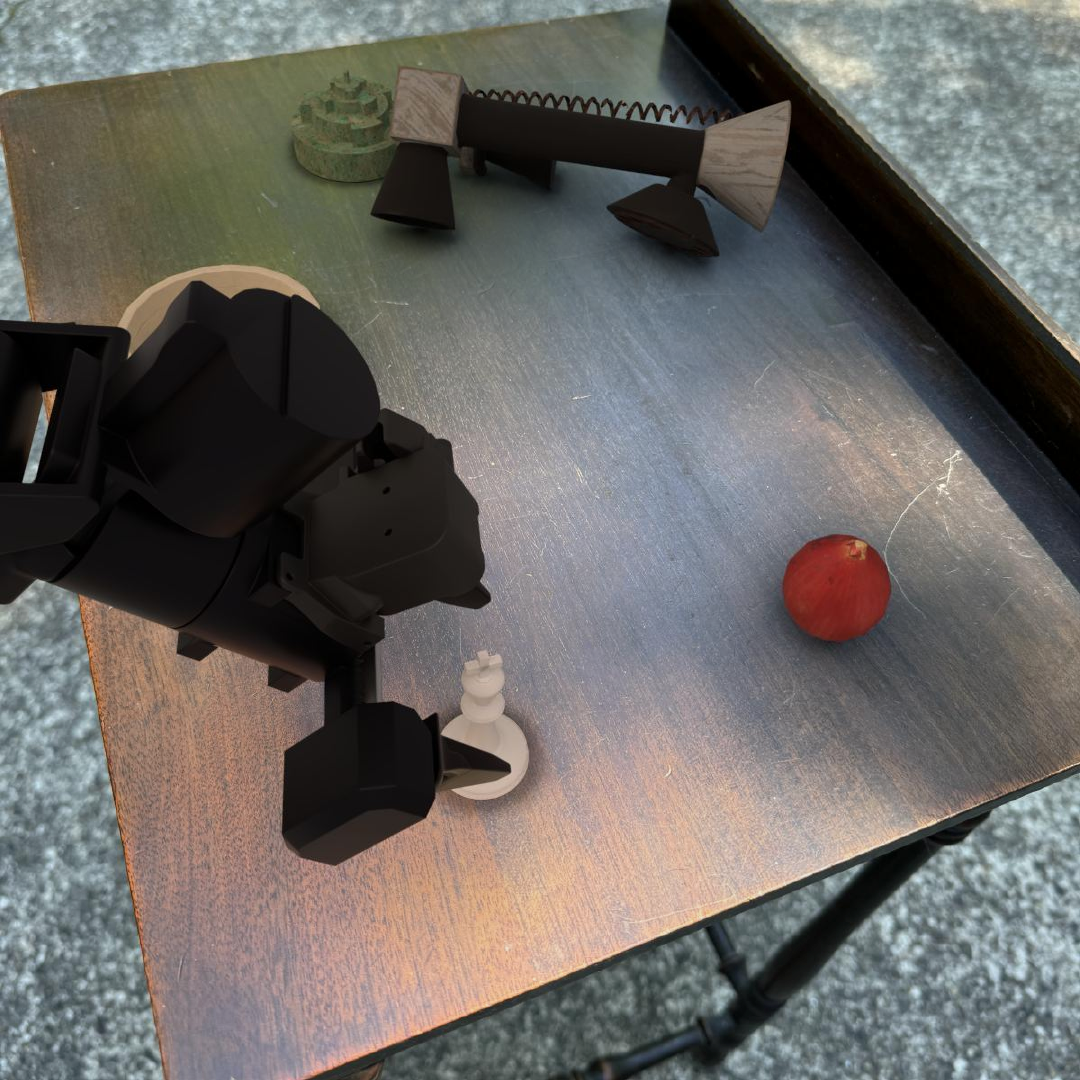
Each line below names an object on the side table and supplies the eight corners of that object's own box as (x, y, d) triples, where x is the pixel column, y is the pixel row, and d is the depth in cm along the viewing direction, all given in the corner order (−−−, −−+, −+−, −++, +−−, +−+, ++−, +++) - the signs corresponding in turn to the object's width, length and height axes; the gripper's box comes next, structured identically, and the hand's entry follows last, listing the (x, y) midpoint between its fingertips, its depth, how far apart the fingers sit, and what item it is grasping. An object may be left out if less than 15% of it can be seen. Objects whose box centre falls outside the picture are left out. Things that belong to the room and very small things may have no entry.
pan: (130, 447, 66) (115, 407, 63) (130, 315, 74) (116, 275, 71) (338, 419, 68) (332, 380, 66) (316, 294, 76) (310, 255, 73)
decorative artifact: (320, 112, 92) (277, 170, 86) (311, 33, 87) (263, 90, 81) (426, 131, 91) (389, 191, 85) (423, 53, 86) (384, 111, 80)
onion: (751, 599, 61) (783, 513, 54) (834, 574, 62) (874, 488, 56) (800, 679, 57) (840, 597, 51) (886, 651, 59) (935, 568, 53)
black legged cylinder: (736, 285, 88) (397, 232, 89) (764, 133, 86) (417, 81, 87) (763, 269, 73) (356, 206, 74) (798, 84, 71) (378, 22, 72)
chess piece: (425, 727, 54) (417, 622, 46) (513, 705, 55) (520, 599, 48) (447, 811, 51) (443, 715, 44) (540, 786, 53) (552, 687, 45)
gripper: (341, 682, 28) (671, 807, 38) (338, 268, 40) (593, 447, 50) (125, 825, 33) (464, 902, 43) (177, 423, 45) (436, 557, 55)
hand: (494, 682), depth 48 cm, fingers open, 9 cm apart
